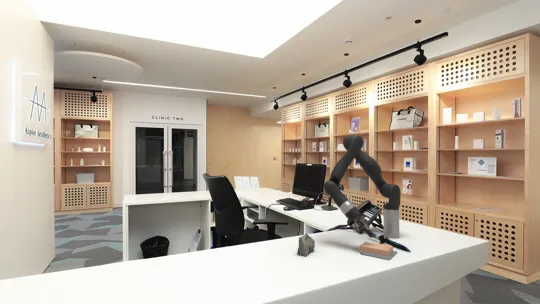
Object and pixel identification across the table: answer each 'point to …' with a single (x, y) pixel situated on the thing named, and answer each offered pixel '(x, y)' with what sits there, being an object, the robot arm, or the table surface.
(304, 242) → the mineral rock
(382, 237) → the knife
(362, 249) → the tile
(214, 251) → the table surface
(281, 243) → the table surface
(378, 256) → the slate mat
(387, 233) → the robot arm
